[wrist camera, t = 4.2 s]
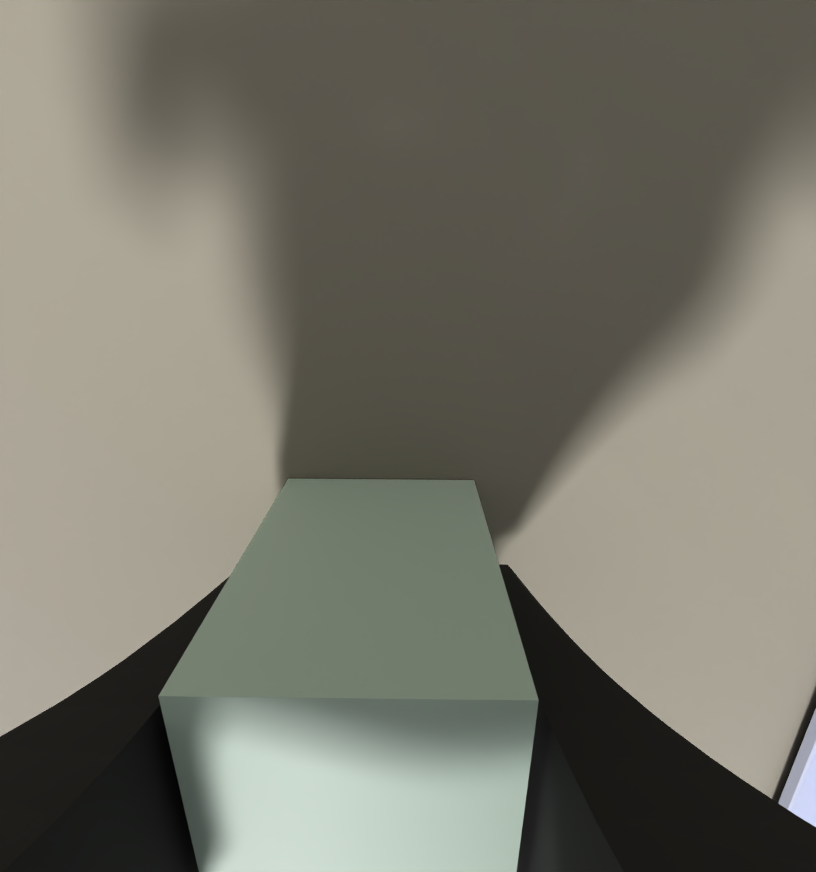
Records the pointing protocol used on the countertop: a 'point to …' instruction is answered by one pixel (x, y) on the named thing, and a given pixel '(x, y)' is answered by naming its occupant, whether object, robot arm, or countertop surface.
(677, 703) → the countertop surface
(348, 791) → the sage block
